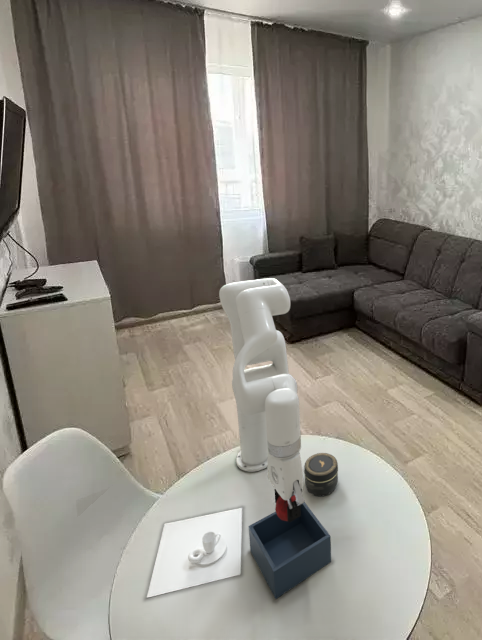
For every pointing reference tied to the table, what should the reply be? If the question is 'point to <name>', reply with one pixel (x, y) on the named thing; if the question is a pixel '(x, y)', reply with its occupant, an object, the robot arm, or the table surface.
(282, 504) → the pomegranate
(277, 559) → the bin
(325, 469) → the jar
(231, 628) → the table surface
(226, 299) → the robot arm
